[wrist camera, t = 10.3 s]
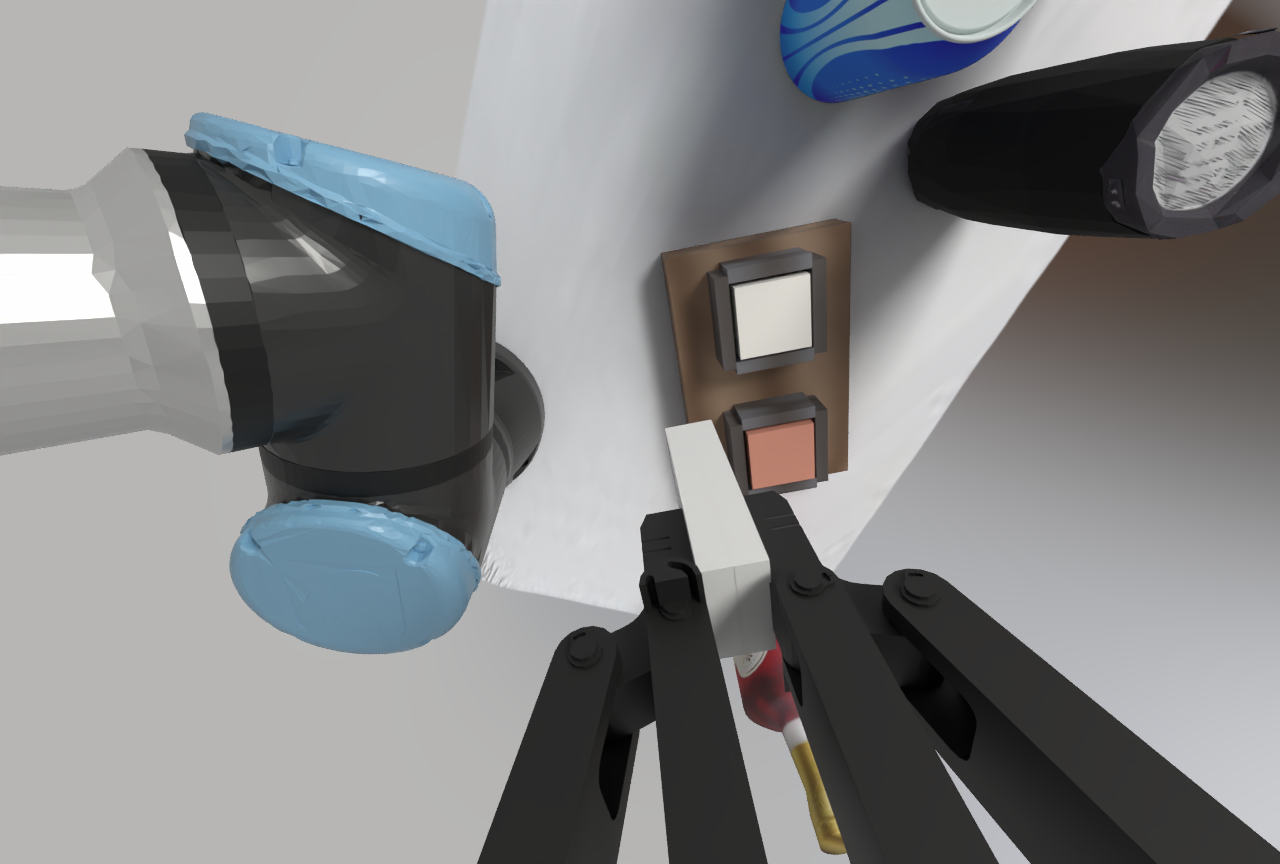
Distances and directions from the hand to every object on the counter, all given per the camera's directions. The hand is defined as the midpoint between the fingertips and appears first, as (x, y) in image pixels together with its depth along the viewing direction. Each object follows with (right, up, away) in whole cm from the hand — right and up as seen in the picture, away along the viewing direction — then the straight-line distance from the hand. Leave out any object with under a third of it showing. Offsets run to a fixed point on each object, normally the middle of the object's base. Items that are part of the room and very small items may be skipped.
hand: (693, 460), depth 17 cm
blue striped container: (+12, +28, +18) cm, 36 cm away
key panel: (+9, +7, +29) cm, 31 cm away
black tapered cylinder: (+22, +22, +22) cm, 38 cm away
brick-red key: (+10, 0, +28) cm, 30 cm away
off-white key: (+8, +10, +22) cm, 26 cm away
